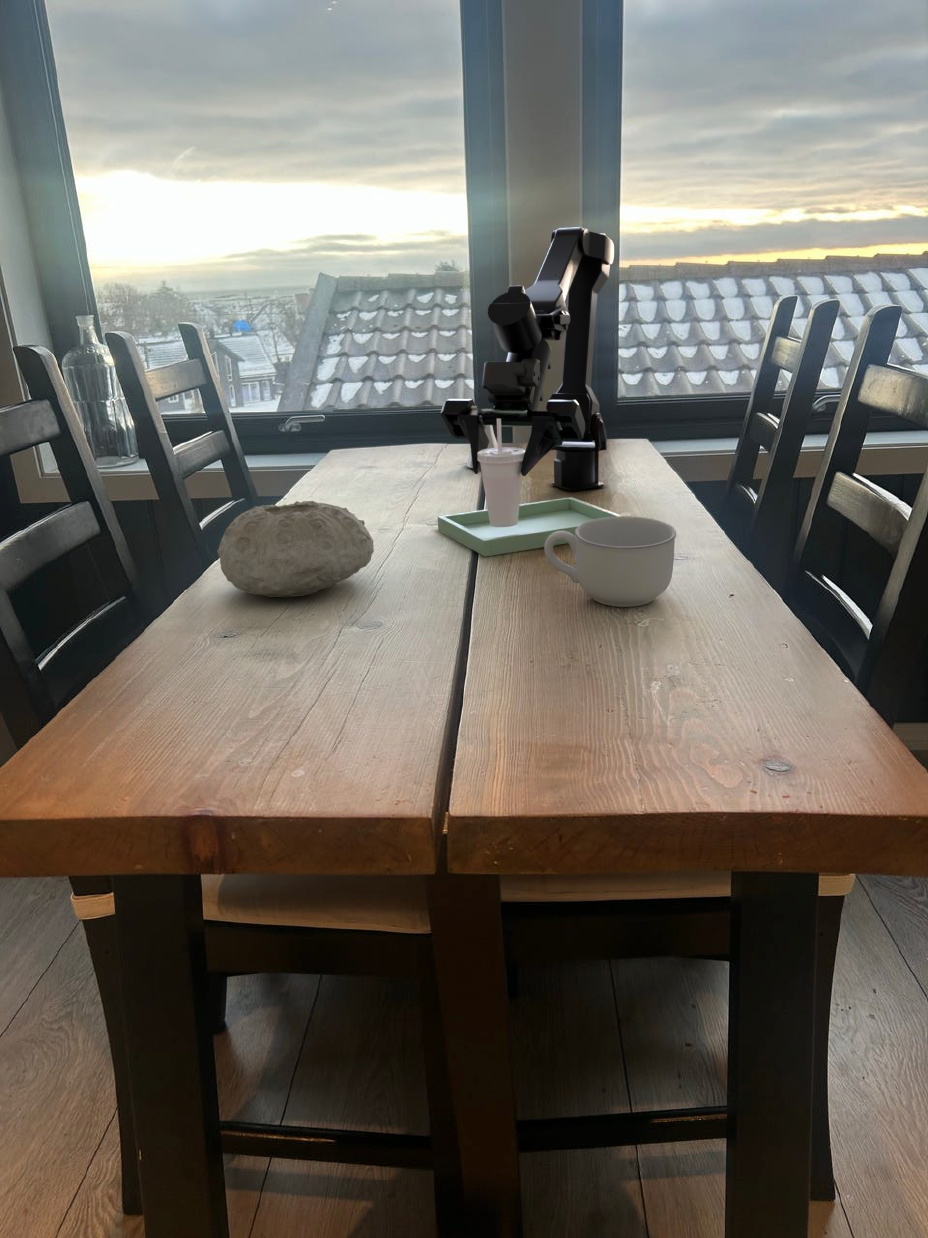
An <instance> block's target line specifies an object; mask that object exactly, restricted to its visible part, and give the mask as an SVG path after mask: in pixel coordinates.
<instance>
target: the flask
mask: <svg viewBox="0 0 928 1238" xmlns="http://www.w3.org/2000/svg"><path fill="white" fill-rule="evenodd" d="M485 433H486V435H487V437H488V439H489V445H488V448H487V449H489V448H497V447H498V442H497V437H496V436H495V433H494V427H493V425H486V429H485ZM465 466H467V467H468V468H469V469H473V466H472V456H471V450H470V452H469V454H468V457H467V461H466V465H465Z"/></svg>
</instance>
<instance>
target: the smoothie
mask: <svg viewBox="0 0 928 1238" xmlns="http://www.w3.org/2000/svg"><path fill="white" fill-rule="evenodd" d="M502 434H503V433H502V427H501V418H498V419H497V425H496V436H497V437H496V441H497V444H498V447H497V448H489V449H484V450H481V451H479V452H478V453H477V455H478V459H477V460H478V461H479V462H480V465H481V469H480V472H481V478H482V483H483V489H484V495H485V501H486V508H487V509H488V514H489V520H490V525H491V526H494V527H511V526H515V525H517V524H518V515H519V505H520V504H521V503H520V502H521V494H522V492H521V491H522V481H523V476H522V474H521V467H522V461H523V458H524V455H525V451H526V449H523V448H520V447H514V446H513V447H512V446H503V438H502Z"/></svg>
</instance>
